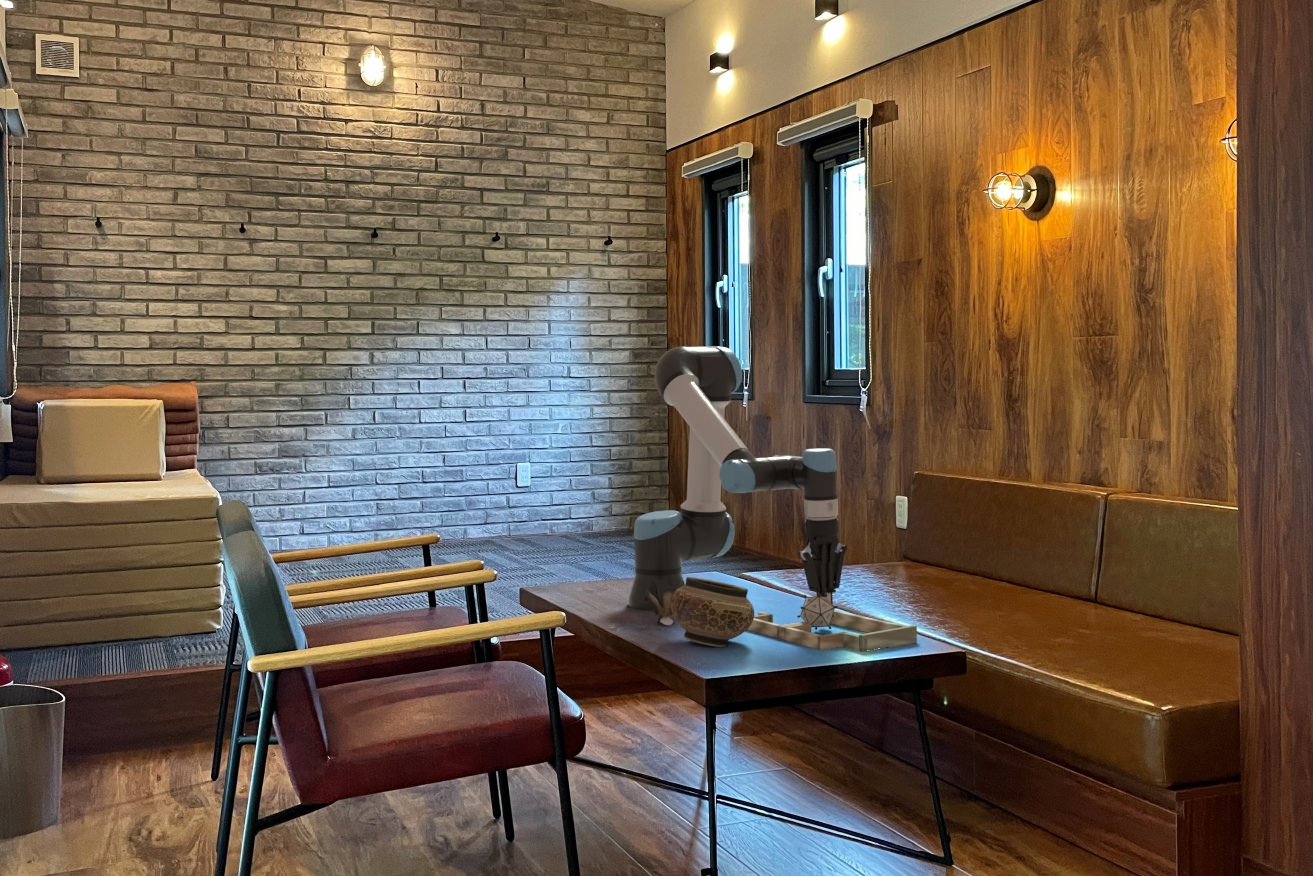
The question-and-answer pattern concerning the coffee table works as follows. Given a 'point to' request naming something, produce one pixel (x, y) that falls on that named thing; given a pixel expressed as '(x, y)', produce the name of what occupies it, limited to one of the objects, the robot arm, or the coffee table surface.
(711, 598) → the ceramic bowl
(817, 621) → the game die
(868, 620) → the brown wall maze
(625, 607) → the coffee table surface
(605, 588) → the coffee table surface
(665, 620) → the tan upright piece
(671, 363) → the robot arm
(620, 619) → the coffee table surface
